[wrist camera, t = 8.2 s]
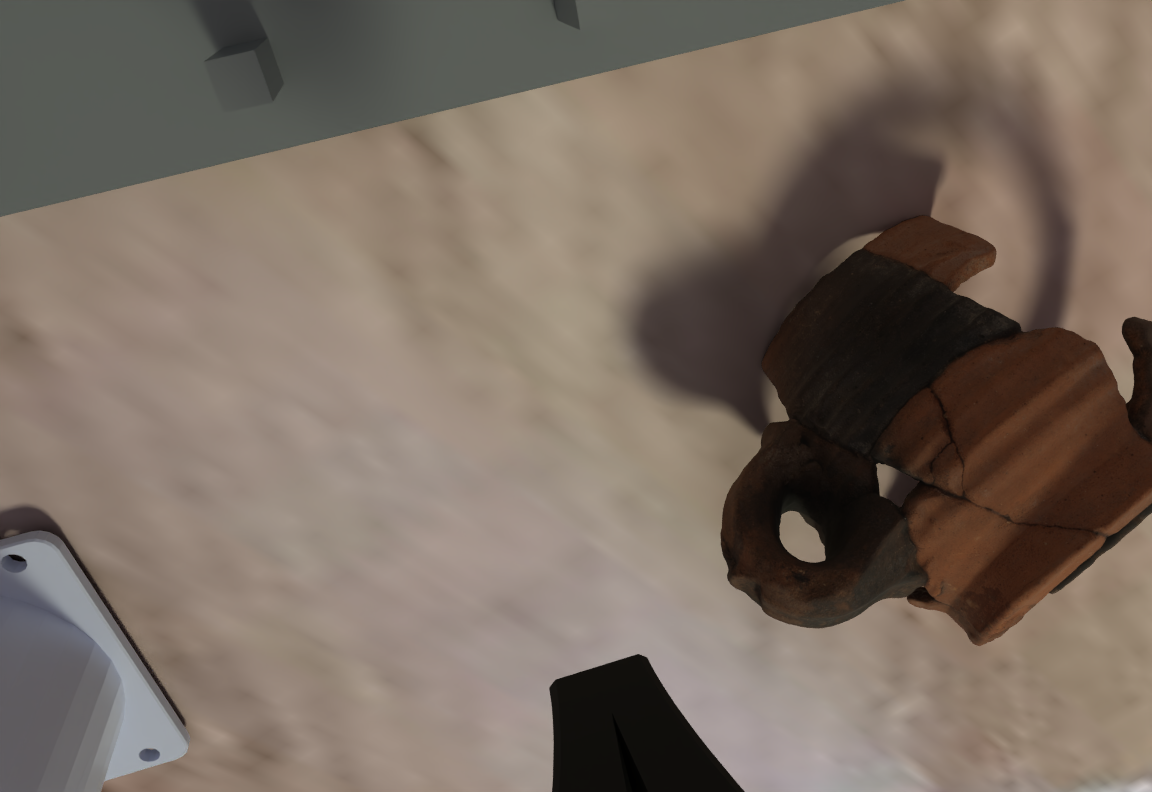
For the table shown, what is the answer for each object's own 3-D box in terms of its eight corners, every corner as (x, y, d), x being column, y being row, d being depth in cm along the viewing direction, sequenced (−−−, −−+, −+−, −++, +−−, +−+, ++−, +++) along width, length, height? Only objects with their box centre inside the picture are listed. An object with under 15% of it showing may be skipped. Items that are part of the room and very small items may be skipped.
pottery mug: (1015, 123, 20) (1359, 333, 16) (925, 347, 28) (1141, 528, 24) (616, 374, 18) (904, 701, 14) (639, 544, 26) (827, 784, 22)
